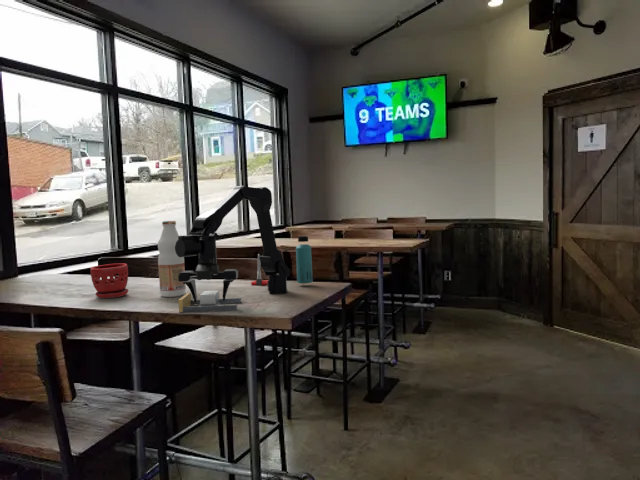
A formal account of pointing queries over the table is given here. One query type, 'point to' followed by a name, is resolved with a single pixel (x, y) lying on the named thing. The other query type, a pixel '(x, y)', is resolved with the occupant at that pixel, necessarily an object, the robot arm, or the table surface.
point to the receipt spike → (259, 276)
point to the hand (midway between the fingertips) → (209, 301)
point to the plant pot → (110, 280)
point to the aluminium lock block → (209, 298)
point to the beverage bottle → (304, 261)
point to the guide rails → (186, 302)
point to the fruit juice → (170, 262)
